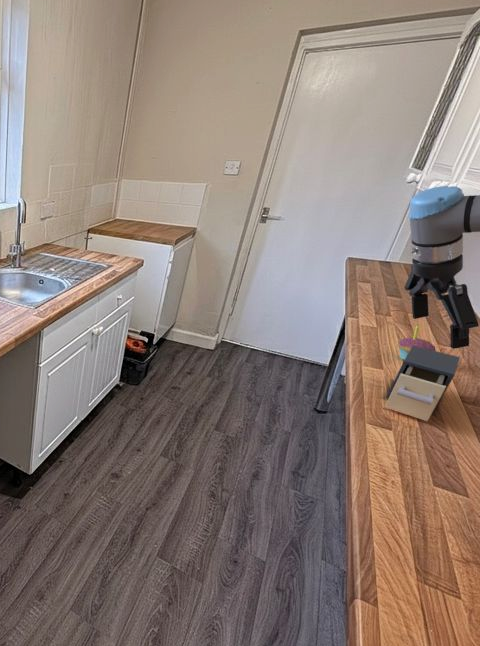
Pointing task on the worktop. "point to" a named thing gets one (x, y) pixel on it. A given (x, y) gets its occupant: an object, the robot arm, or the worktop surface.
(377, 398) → the worktop surface
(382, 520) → the worktop surface
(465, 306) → the robot arm
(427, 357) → the cabinet
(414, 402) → the drawer
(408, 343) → the cupcake
